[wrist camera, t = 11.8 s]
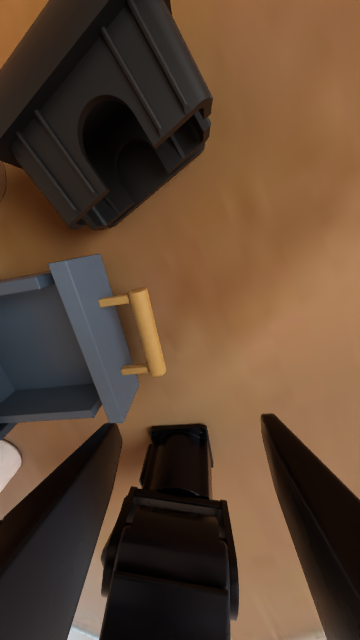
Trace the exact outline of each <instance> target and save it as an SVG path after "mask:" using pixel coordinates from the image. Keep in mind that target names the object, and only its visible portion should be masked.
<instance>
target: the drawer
mask: <svg viewBox="0 0 360 640" xmlns="http://www.w3.org/2000/svg"><path fill="white" fill-rule="evenodd" d="M48 266H49V268H50V271H49V272H43V273H38V274H32V275H27V276H22V277H16V278H11V279H5V280H0V424H1V423H16V422H32V421H48V420H63V419H79V418H94V417H95V415H96V413H97V412H98V410H99V408H100V407H101V405H103V408H104V410H105V413H106V415H107V418H108V420H109V423H123V422H124V420H125V418H126V415H127V413H128V411H129V408H130V406H131V403H132V401H133V399H134V396H135V394H136V391H137V389H138V387H139V382H138V379H137V375H136V374H141V373H148V372H149V374H150V375H151V376H152V377H159V376H162V375H163V374H164V373H165V372H166V367H165V362H164V358H163V354H162V350H161V345H160V341H159V337H158V333H157V328H156V324H155V320H154V316H153V311H152V307H151V303H150V299H149V294H148V290H147V288H138V289H134V290H131V291H129V292H128V294H124V295H117V296H113V295H112V292H111V288H110V285H109V281H108V278H107V275H106V271H105V268H104V265H103V261H102V258H101V255H100V254H96V255H91V256H85V257H80V258H75V259H70V260H64V261H59V262H54V263H49V264H48ZM128 303H131V307H132V311H133V315H134V318H135V322H136V326H137V329H138V333H139V337H140V340H141V344H142V348H143V351H144V355H145V359H146V364H136V365H133V362H132V359H131V355H130V352H129V349H128V345H127V342H126V339H125V335H124V332H123V328H122V325H121V322H120V318H119V315H118V312H117V308H116V305H121V304H128Z"/></svg>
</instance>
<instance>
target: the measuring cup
mask: <svg viewBox="0 0 360 640" xmlns="http://www.w3.org/2000/svg"><path fill="white" fill-rule="evenodd" d="M5 188H6V175H5V170H4V166H3V163H2V161H0V200H1V199H2V197H3V195H4V192H5Z"/></svg>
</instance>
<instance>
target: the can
mask: <svg viewBox="0 0 360 640" xmlns="http://www.w3.org/2000/svg"><path fill="white" fill-rule="evenodd" d="M21 461H22V457H21V454H20V452H19V450H18V449H17V448H16V447H15V446H14V445H13V444H11V443H10V442H8V441H6V440H4V439H2V440H1V441H0V492H1V491H2V490H3V488H4V487H5V486H6V485H7V483H8V482H9V481H10V479H11V478H12V477H13V476H14V474H15V473H16V472H17V470H18V469H19V468H20V466H21Z"/></svg>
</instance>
